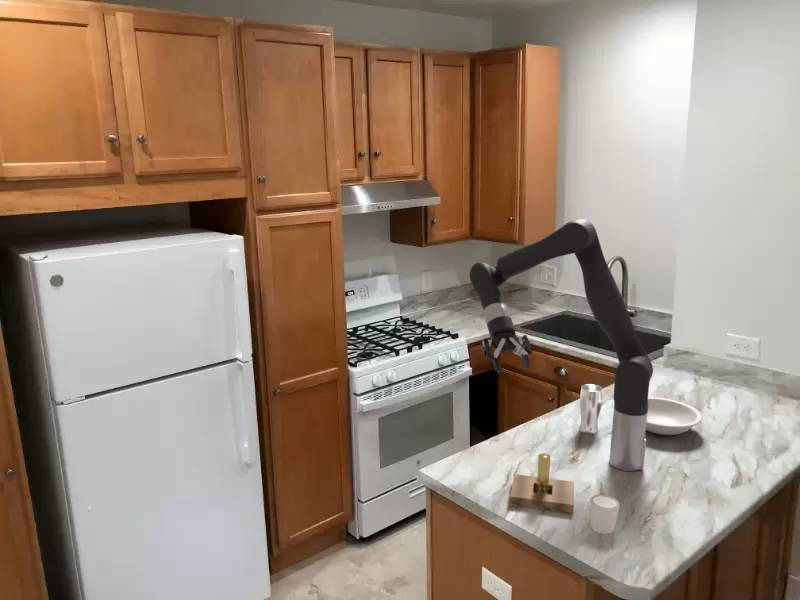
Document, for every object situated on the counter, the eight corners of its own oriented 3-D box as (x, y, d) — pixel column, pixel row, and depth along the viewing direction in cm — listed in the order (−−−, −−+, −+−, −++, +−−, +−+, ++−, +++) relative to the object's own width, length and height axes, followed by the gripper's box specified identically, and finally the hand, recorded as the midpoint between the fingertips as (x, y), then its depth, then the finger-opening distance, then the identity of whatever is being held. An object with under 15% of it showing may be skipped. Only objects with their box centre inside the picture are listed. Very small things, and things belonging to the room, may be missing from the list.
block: (573, 489, 173) (573, 481, 172) (573, 513, 162) (573, 505, 161) (513, 482, 177) (514, 473, 176) (509, 505, 166) (510, 496, 165)
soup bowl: (685, 415, 221) (687, 398, 219) (711, 447, 197) (714, 428, 196) (614, 413, 223) (616, 395, 221) (632, 444, 200) (633, 424, 198)
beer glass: (576, 432, 207) (579, 389, 204) (579, 424, 214) (582, 382, 210) (598, 436, 205) (602, 392, 201) (600, 427, 211) (604, 385, 208)
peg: (548, 495, 170) (550, 454, 168) (547, 500, 168) (550, 459, 165) (536, 493, 171) (538, 452, 168) (536, 499, 168) (538, 458, 165)
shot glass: (584, 519, 159) (586, 494, 158) (610, 518, 160) (612, 493, 158) (594, 536, 153) (596, 510, 151) (622, 534, 153) (624, 508, 152)
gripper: (480, 316, 185) (494, 366, 177) (525, 313, 189) (541, 362, 181) (473, 329, 191) (486, 378, 183) (516, 325, 195) (531, 373, 187)
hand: (513, 370), depth 182 cm, fingers open, 8 cm apart
